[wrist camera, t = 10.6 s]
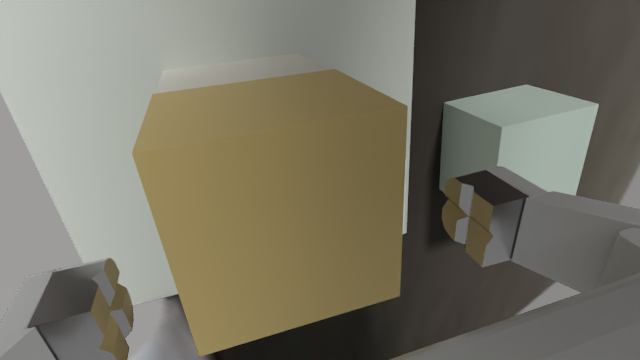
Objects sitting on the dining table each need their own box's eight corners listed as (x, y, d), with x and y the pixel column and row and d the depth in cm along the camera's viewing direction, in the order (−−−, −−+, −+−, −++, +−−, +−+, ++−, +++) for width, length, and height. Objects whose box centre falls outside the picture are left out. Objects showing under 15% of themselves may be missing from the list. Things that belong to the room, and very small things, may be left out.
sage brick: (442, 101, 22) (502, 127, 18) (525, 84, 24) (599, 104, 19) (438, 188, 25) (488, 227, 21) (512, 168, 27) (573, 201, 22)
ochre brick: (152, 93, 12) (131, 153, 7) (335, 68, 13) (407, 106, 9) (196, 248, 14) (199, 356, 10) (342, 213, 16) (399, 295, 11)
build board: (-69, -91, 13) (-254, -151, 7) (406, -106, 17) (505, -151, 12) (110, 297, 21) (85, 399, 16) (397, 223, 25) (452, 284, 20)
